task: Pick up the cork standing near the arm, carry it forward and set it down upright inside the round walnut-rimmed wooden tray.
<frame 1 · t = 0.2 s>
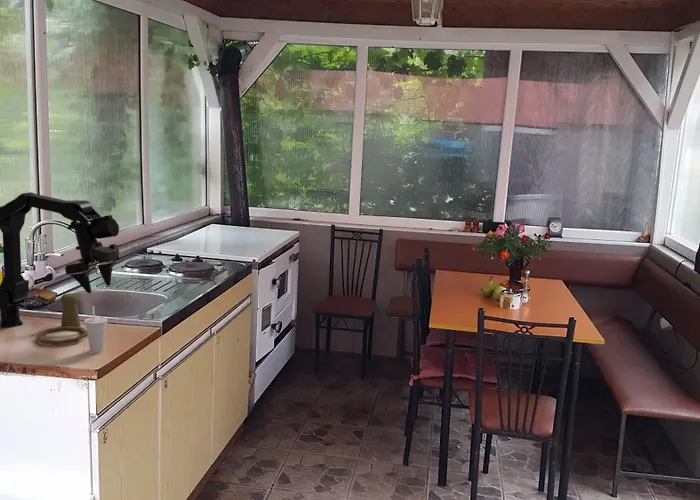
hand: (99, 289, 203), 15 cm above the countertop, tool pointing down, fingers open, 9 cm apart
smoothie: (97, 351, 192), on the countertop
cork: (70, 326, 213), on the countertop
tray: (62, 338, 201), on the countertop
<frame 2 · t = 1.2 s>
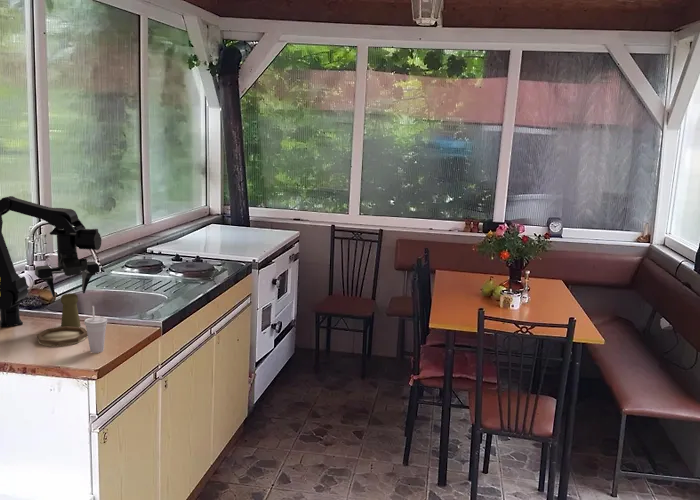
hand: (68, 295, 211), 11 cm above the countertop, tool pointing down, fingers open, 9 cm apart
nothing on the countertop moved.
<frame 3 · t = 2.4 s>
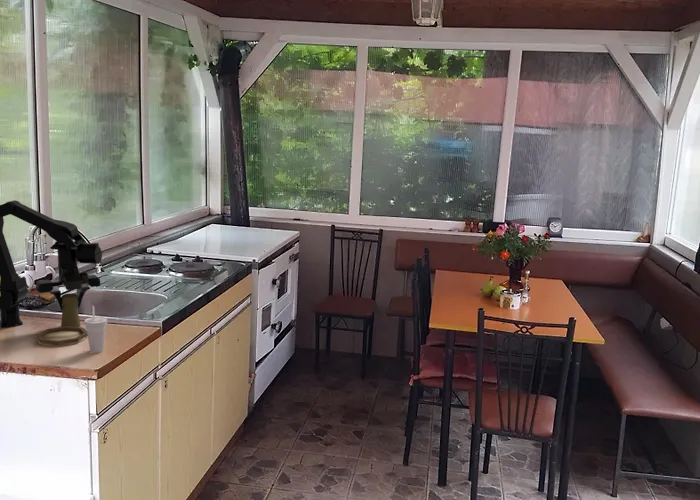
hand: (69, 308, 212), 6 cm above the countertop, tool pointing down, fingers closed on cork, 5 cm apart
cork: (70, 326, 213), on the countertop, touching gripper
everything else where it was.
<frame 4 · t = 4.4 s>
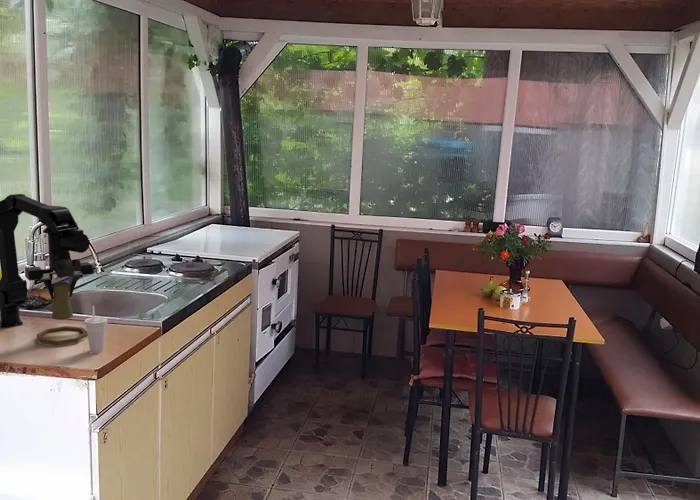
hand: (61, 297, 199), 13 cm above the countertop, tool pointing down, fingers closed on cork, 5 cm apart
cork: (62, 317, 200), point 7 cm above the countertop, touching gripper
everything else where it was.
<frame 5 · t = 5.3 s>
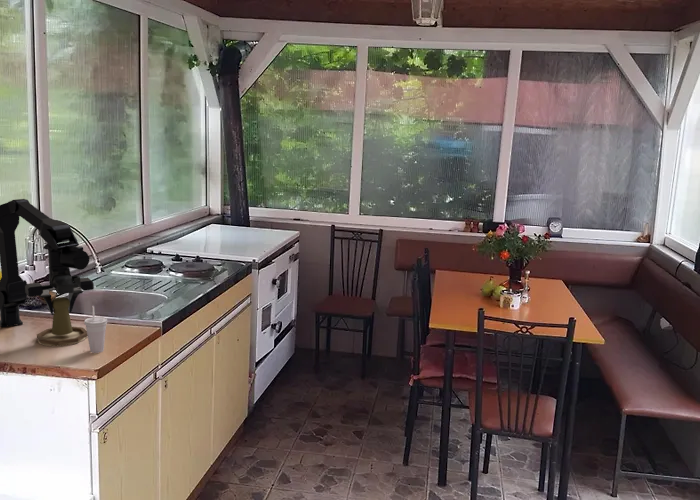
hand: (61, 313, 200), 8 cm above the countertop, tool pointing down, fingers closed on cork, 5 cm apart
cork: (62, 332, 201), point 2 cm above the countertop, touching gripper
everything else where it was.
when the fingers open (8 cm above the countertop, at t = 6.1 s): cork drops 1 cm, resting on tray.
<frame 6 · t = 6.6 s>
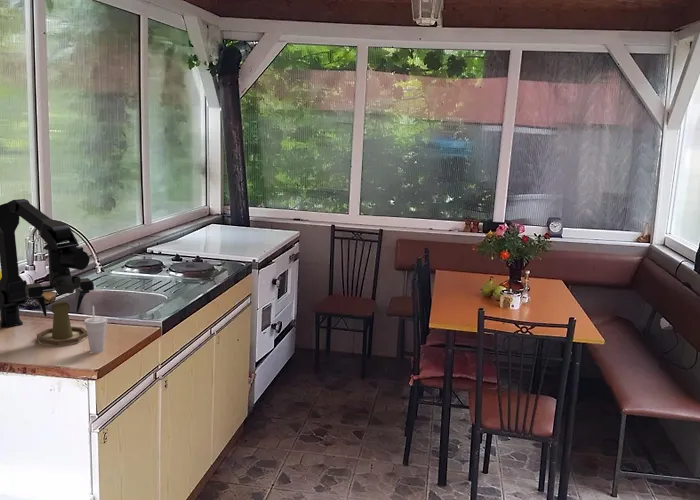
hand: (61, 314, 200), 8 cm above the countertop, tool pointing down, fingers open, 9 cm apart
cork: (62, 337, 201), resting on tray
everything else where it was.
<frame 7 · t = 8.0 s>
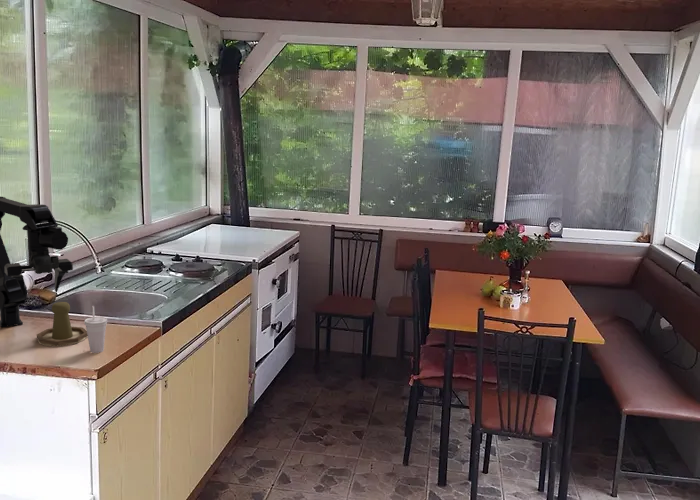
hand: (40, 293, 203), 13 cm above the countertop, tool pointing down, fingers open, 9 cm apart
nothing on the countertop moved.
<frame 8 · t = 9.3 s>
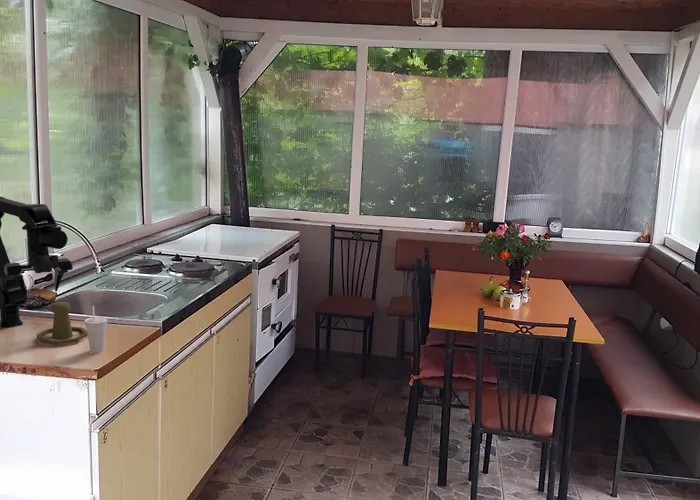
hand: (40, 293, 203), 13 cm above the countertop, tool pointing down, fingers open, 9 cm apart
nothing on the countertop moved.
at the end: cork 0.1 cm from the tray (horizontally); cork tilted 0°; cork resting on tray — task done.
